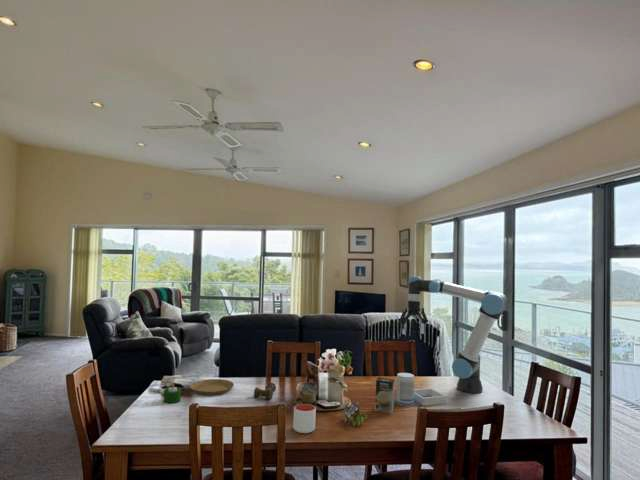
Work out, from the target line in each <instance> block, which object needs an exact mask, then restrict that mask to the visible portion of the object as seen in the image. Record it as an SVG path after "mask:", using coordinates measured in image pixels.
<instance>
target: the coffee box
mask: <svg viewBox="0 0 640 480" xmlns="http://www.w3.org/2000/svg"><path fill="white" fill-rule="evenodd" d="M395 385H396V381H395V379H394V378H387V377H380V376H378V377H377V378H376V380H375V399H374V400H375V401H374V411H375V412H378V413H379V412H380V413H384V414H390V415H391V414H393V412H394V405H395V402H394V399H395Z"/></svg>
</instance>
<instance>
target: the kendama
mask: <svg viewBox="0 0 640 480" xmlns="http://www.w3.org/2000/svg"><path fill="white" fill-rule="evenodd" d="M276 389H277V385H276V384H275V383H274V382H269V383H268V384H267V385H266V386H265V389H261V388H260V387H255V388H254V391H253V397H254V398H255V399H257V398H261V397H265V398H266V399H268V400H270V401H271V400H272V399H273V395H274V392H275V391H276Z"/></svg>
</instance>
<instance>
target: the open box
mask: <svg viewBox="0 0 640 480" xmlns="http://www.w3.org/2000/svg"><path fill="white" fill-rule="evenodd" d="M447 398H448V397H447V395H445V394H444V393H442V392H439V391H438V390H435V389H433V388H431V387H429V388H428V387H427V388H414V401H416V402H418V403H419V404H422V406H423V405H426V406H433V405H434V406H435V405H445V404H447Z"/></svg>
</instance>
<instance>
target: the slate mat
mask: <svg viewBox="0 0 640 480" xmlns="http://www.w3.org/2000/svg"><path fill="white" fill-rule="evenodd" d="M395 403H396V404H397V405H398V406H400V407H412V406H421V404H419V403H418V402H416V401H414V402H413V403H411V404H403V403H400V402H398V401H397V397H396V398H395V397H394V404H395Z"/></svg>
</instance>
